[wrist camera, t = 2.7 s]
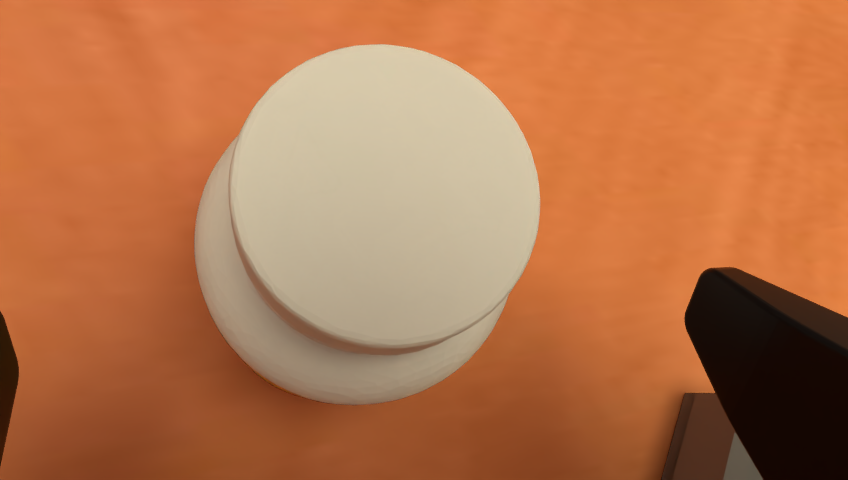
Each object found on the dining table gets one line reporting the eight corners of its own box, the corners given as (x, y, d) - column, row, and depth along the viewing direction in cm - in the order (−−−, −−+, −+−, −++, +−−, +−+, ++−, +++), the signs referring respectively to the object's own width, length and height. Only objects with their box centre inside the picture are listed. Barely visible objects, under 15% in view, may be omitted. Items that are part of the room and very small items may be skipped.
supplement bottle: (180, 269, 17) (64, 117, 7) (352, 162, 18) (434, -71, 9) (301, 444, 16) (339, 513, 7) (465, 319, 18) (668, 244, 9)
